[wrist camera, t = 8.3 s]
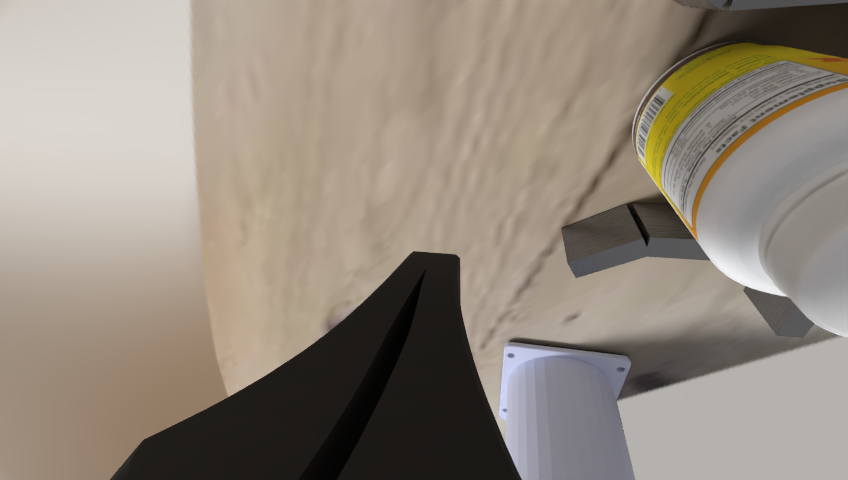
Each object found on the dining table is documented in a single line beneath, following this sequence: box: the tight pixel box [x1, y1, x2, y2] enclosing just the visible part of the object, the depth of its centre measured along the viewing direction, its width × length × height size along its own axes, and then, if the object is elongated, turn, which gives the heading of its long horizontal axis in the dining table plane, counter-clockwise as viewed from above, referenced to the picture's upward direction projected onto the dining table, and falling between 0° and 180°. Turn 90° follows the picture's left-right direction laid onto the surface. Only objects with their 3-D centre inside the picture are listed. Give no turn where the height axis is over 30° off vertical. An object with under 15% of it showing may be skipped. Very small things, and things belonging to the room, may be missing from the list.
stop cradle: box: [561, 0, 848, 338], centre depth 13 cm, size 18×10×3 cm, turn 4°
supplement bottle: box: [632, 41, 848, 338], centre depth 10 cm, size 6×6×10 cm
